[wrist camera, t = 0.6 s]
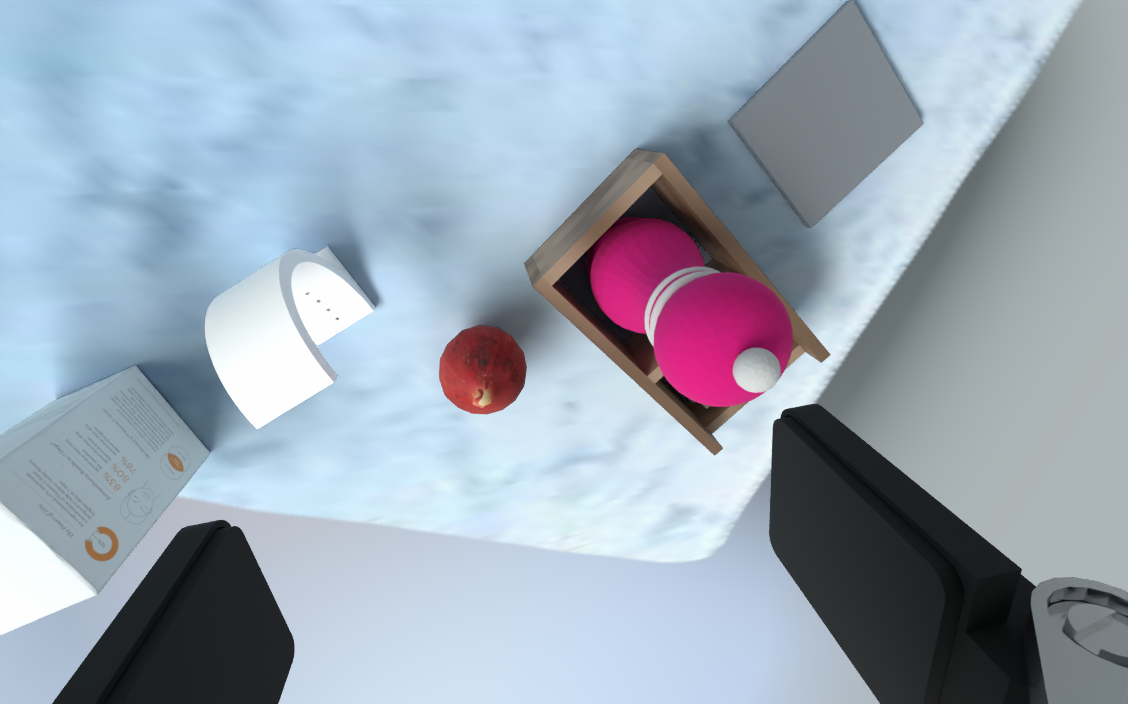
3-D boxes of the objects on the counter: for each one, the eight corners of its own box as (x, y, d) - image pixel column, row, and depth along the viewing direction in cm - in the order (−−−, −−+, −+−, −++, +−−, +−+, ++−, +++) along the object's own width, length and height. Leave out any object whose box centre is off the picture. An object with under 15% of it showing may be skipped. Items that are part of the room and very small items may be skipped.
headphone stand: (320, 341, 37) (256, 429, 26) (258, 268, 35) (159, 332, 24) (376, 307, 37) (334, 382, 26) (317, 231, 35) (244, 279, 24)
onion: (445, 307, 38) (438, 350, 30) (526, 315, 39) (538, 358, 32) (439, 382, 40) (431, 439, 33) (516, 387, 41) (525, 443, 34)
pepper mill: (659, 191, 37) (839, 253, 19) (689, 284, 40) (870, 415, 22) (563, 235, 37) (649, 338, 19) (600, 324, 40) (705, 488, 22)
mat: (846, 1, 34) (852, -1, 34) (917, 123, 38) (923, 123, 37) (727, 121, 36) (731, 121, 35) (806, 226, 40) (811, 228, 39)
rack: (634, 149, 36) (664, 152, 30) (784, 325, 42) (830, 354, 37) (524, 263, 37) (532, 286, 32) (685, 415, 44) (714, 455, 39)
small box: (51, 400, 36) (-156, 533, 24) (137, 362, 36) (-29, 477, 24) (135, 488, 39) (-11, 643, 28) (214, 454, 39) (101, 595, 27)
